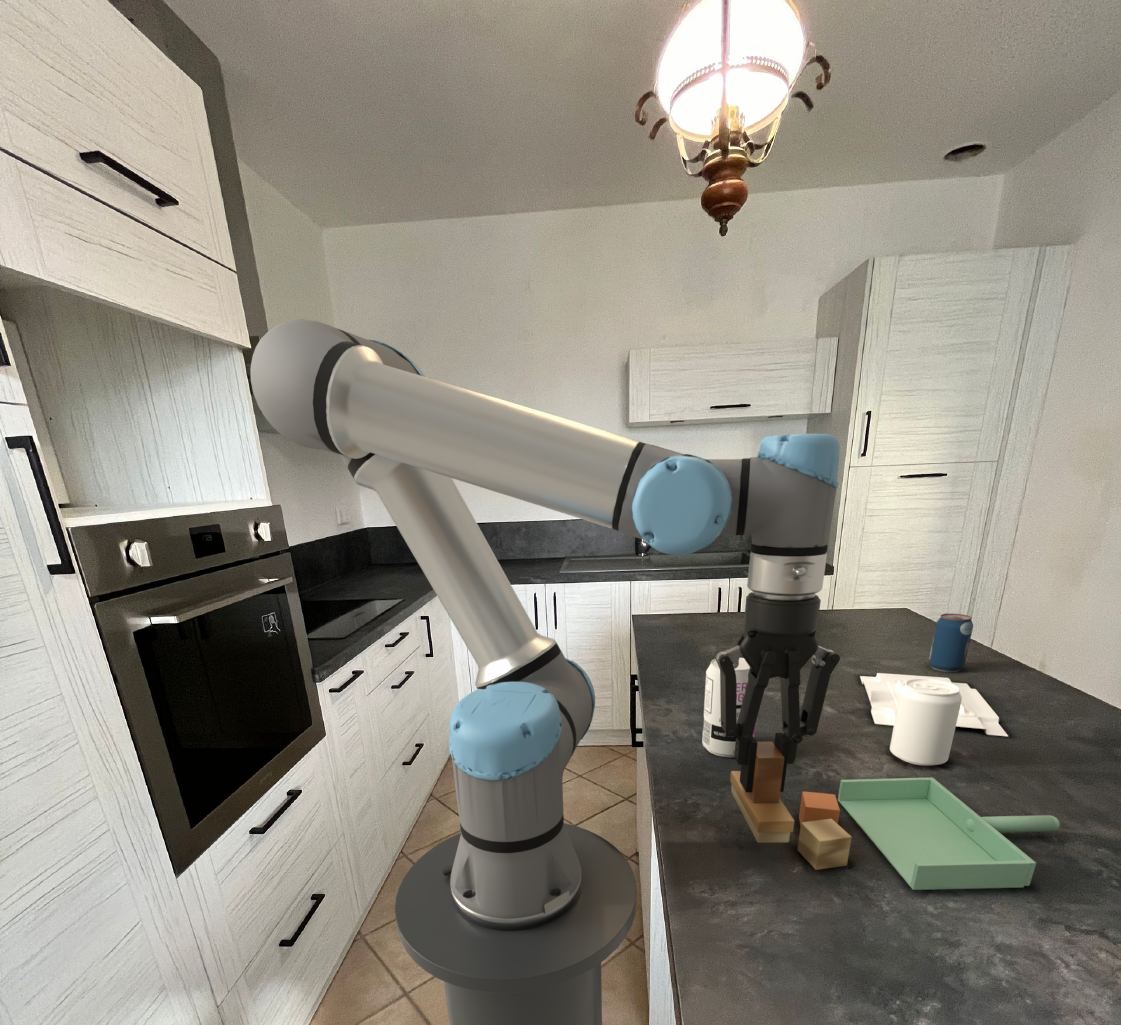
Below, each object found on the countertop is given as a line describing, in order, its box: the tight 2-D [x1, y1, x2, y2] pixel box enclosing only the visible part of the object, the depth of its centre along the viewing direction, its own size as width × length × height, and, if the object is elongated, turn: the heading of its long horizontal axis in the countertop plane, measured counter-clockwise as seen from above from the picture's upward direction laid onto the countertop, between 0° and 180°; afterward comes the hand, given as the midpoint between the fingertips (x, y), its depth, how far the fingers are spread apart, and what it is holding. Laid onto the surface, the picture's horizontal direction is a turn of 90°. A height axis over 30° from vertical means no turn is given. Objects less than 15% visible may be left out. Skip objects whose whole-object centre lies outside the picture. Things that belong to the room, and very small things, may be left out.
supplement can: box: [701, 657, 756, 758], centre depth 96 cm, size 8×8×15 cm
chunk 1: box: [798, 790, 841, 826], centre depth 76 cm, size 4×4×4 cm
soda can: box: [928, 613, 974, 673], centre depth 131 cm, size 7×7×12 cm
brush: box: [729, 741, 795, 844], centre depth 71 cm, size 4×12×9 cm, turn 0°
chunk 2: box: [797, 819, 853, 871], centre depth 70 cm, size 4×4×4 cm
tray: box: [859, 672, 1009, 737], centre depth 114 cm, size 20×28×4 cm
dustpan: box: [837, 777, 1061, 891], centre depth 73 cm, size 23×19×3 cm
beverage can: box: [889, 679, 962, 767], centre depth 91 cm, size 8×8×12 cm
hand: (761, 786), depth 71 cm, fingers closed on brush, 3 cm apart
